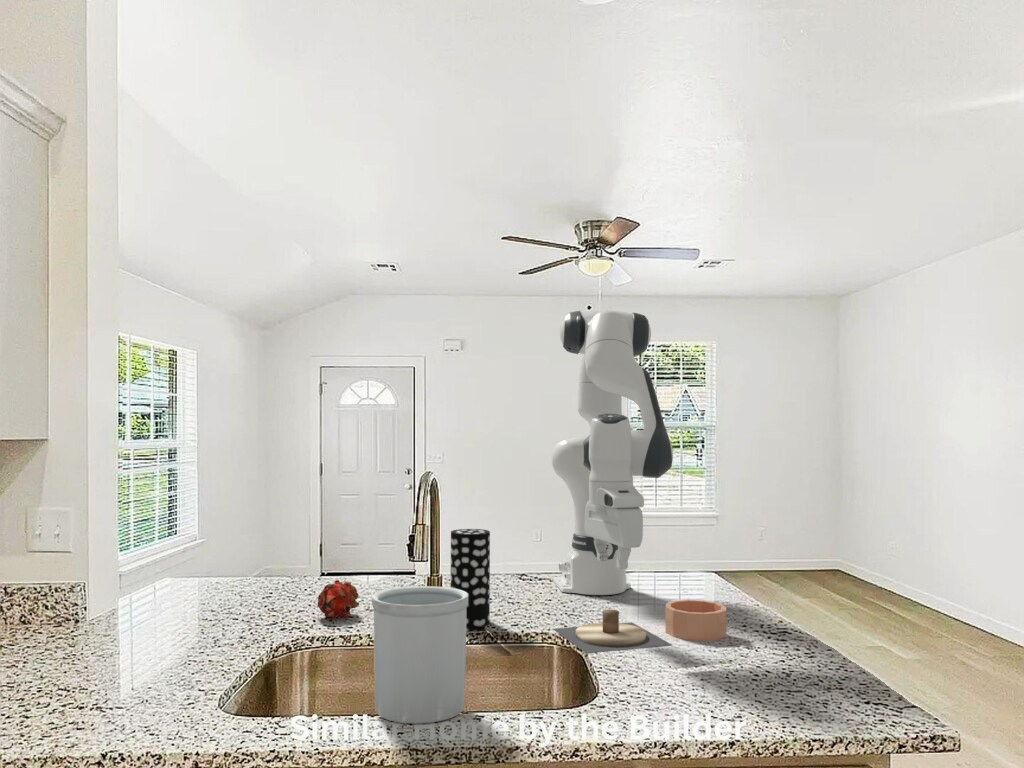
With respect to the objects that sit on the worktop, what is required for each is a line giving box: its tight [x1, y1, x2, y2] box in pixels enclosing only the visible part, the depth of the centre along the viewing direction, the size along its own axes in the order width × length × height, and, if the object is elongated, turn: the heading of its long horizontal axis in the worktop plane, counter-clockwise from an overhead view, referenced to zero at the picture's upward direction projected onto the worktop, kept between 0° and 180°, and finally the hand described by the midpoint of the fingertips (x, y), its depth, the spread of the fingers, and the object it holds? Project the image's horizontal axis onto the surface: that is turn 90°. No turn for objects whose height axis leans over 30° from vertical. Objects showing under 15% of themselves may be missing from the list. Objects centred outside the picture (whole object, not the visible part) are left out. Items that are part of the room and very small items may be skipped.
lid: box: [576, 609, 646, 647], centre depth 170 cm, size 14×14×5 cm
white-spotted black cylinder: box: [450, 528, 491, 632], centre depth 181 cm, size 8×8×20 cm
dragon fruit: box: [317, 579, 360, 620], centre depth 188 cm, size 8×8×12 cm
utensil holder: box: [371, 585, 468, 725], centre depth 132 cm, size 15×15×18 cm
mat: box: [552, 621, 673, 654], centre depth 170 cm, size 18×18×1 cm
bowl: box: [665, 599, 727, 642], centre depth 173 cm, size 12×12×6 cm
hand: (611, 564), depth 170 cm, fingers open, 8 cm apart
